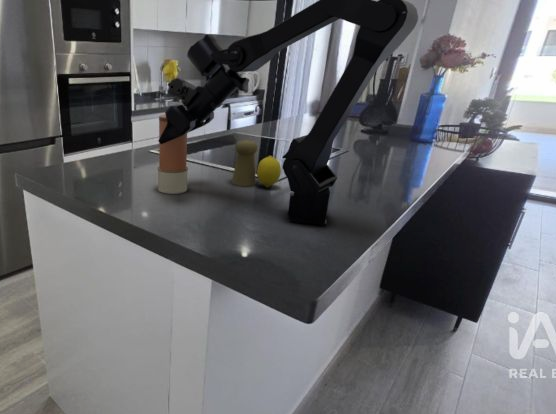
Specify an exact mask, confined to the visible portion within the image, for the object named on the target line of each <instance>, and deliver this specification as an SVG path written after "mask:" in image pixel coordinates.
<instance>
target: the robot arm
mask: <svg viewBox="0 0 556 414" xmlns="http://www.w3.org/2000/svg"><path fill="white" fill-rule="evenodd" d="M339 20H343V21H346V22H348V23H351V24H352V25H357V26H358V27H359V28H358V31H357V34H356V38H355V42H354V47H353V52H352V56H351V59H350V60H349V62H348V64H347V66H346V67H345V69H344V71H343V72H342V74H341V76H340V78H339V79H338V81H337V83H336V85H335V87H334V88H333V90H332V92H331V93H330V95H329V97H328V99H327V101H326V102H325V104H324V106H323V108H322V110H321V111H320V114H319V115H318V117H317V118H316V120H315V121H314V124H313V125H312V127H311V129H310V131H309V132H308V134H306V135H302V136H299V137H296V138H293V139H292V140H291V142H290V143H289V147H288V150H287V152H286V153H285V154H284V155H283V156H282V157H281V158H282V159H283V162H282V170H283V173H284V175H285V177H286V179H287V182H288V187H289V191H290V193H289V200H288V209H287V215H288V216H289V222H291V223H298V224H307V225H315V226H327V224H328V222H327V215H328V208H329V203H330V202H329V201H330V195H331V190H330V188H331V187H333V186H334V184H335V183H336V181H337V180H338V176H337V175H336V174H335V173H334V171H333V170H332V169H331V166H329V165H328V163H329V160H330V158H331V156H332V150H333V145H334V141H335V139H336V137H337V135H338V134H339V132H340V130H341V129H342V127H343V126H344V124H345V123H346V121H347V120H348V118H349V116H350V114H351V113H352V111H353V110H354V108H355V106H356V105H357V104H358V102H359V100H360V98H361V97H362V95H363V94H364V93H365V91H366V89H367V87H368V85H369V84H370V82H371V80H372V78H374V75H375V74H376V73H377V71H378V69H379V68H380V67H381V65H382V64H383V63H384V62H385V61H386V60H387V59H388V58H389V57H391V55H392V54H393V53H394V52H395V51H396V50H398V48H399V47H400V46H401V45H402V43H404V41H405V40H406V39H407V38H408V36H410V34H411V33H412V32H413V30H414V29H415V28H416V26H417V24H418V21H419V14H418V9H417V8H416V6H415V5H414V4H413V3H411V2H410V1H408V0H377V1H376V0H317V1H315V2H314V3H312V4H310V5H309V6H306V7H305V8H303V9H302V10H300V11H298V12H296V13H295V14H293V15H291V16H290V17H287V18H286V19H285V20H282V21H281V22H279V23H278V24H276V25H275V26H273V27H271V28H270V29H268V30H266V31H262V32H260V33H257V34H252V35H249V36H246V37H243V38H239V39H238V40H235V41H233V42H232V43H231V44H230V45H229V46H228V47H227V48H226V49H223V48H222V47H221V46H220V44H219V43H218V41H217V40H216V38H215V36H214V35H213V34H205V35H204V36H203V38H201V39H199V40H198V41H196V42H195V43H193V44H192V45H191V46H190V47H189V49H188V50H187V54H186V56H187V58H188V59H189V61H190V62H191V64H192V65H193V66H194V67H195V69H196V70H197V71H198V73H199V74H200V75H201V76H202V77H207V76H208V77H209V78H208V79H207V80H206V81H205V82H204V83H203V85H197V86H196V85H194V84H192V83H191V82H188V81H187V80H184V78H181V77H172V78H171V80H170V82H168V83H167V87H168V89H167V91H166V92H167V93H168V94H170V95H173V96H175V97H177V98H179V99H181V100H182V101H181V104H174V105H170V106H169V107H168V108H167V109H166V110H165V112H164V113H165V114H166V118H167V125H166V127H165V129H164V131H163V133H162V135H161V137H160V138H159V137H158V140H157V141H158V144H159V143H160V144H164V143H166V142H168V141H171V140H173V139H175V138H178V137H180V136H183V135H185V134H187V135H188V134H189V133H191V132H194V131H195V130H197V129H199V128H202V127H205V126H206V125H208V124H209V123H211V122H212V120H214V119H215V110H217V109H218V108H220V107H222V105H223V104H224V102H225V101H226V100H227V99H228V98H230V96H231V95H232V94H233V93H234V92H235V91H236V90H237V89H238V91H240V92H243V93H246V94H247V93H248V92H249V83H250V79H249V78H248V77H243V76H242V75H241V73H245V72H249V73H250V72H255V71H258V70H260V69H261V68H262V67H263V66H265V65H266V64H267V63H269V62H270V61H271V60H272V59H273V58H274V57H275V56H276V54H278V53H280V51H282V50H283V49H285V48H287V47H289V46H291V45H293V44H295V43H297V42H300V40H302V39H304V38H306V37H308V36H310V35H312V34H314V33H316V32H317V31H319V30H321V29H324V28H326V27H328V26H329V25H331V24H333V23H335V22H336V21H339ZM165 114H164V115H165Z"/></svg>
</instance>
